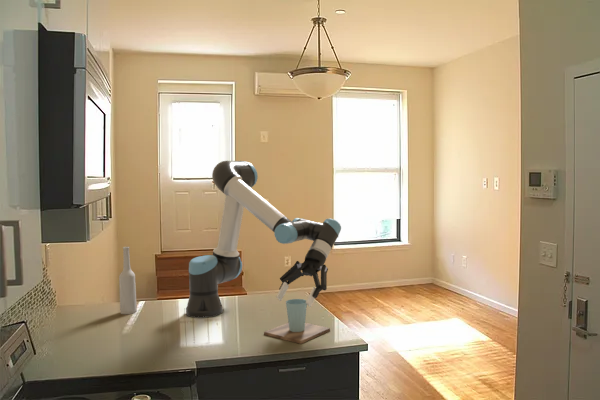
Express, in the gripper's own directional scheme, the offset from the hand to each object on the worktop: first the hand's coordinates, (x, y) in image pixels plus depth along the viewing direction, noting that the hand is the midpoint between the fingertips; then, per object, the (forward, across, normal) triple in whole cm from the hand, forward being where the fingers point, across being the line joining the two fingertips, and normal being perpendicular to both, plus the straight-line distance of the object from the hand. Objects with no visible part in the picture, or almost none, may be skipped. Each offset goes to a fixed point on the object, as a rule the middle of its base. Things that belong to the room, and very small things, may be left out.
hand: (292, 301), depth 176 cm
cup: (+6, 0, -10) cm, 11 cm away
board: (+7, 0, -10) cm, 12 cm away
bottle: (+22, +76, +3) cm, 80 cm away
